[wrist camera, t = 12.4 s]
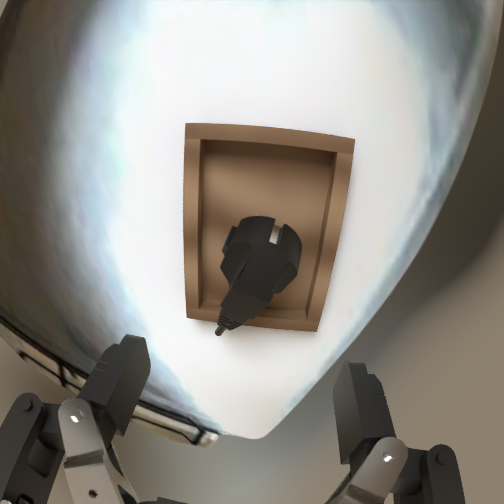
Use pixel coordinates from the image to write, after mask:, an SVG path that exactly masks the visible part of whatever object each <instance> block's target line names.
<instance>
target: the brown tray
mask: <svg viewBox="0 0 504 504" xmlns="http://www.w3.org/2000/svg"><path fill="white" fill-rule="evenodd" d="M354 145H355V139H351V138H345V137H340V136H334V135H328V134H321V133H314V132H307V131H300V130H291V129H283V128H273V127H262V126H249V125H233V124H209V123H186V125H185V147H184V182H183V238H184V274H185V296H186V313H187V318H191V319H198V320H205V321H212V322H218V318H219V314H220V310H221V306H220V304H221V302H222V300H223V299H224V297H225V295H226V294H227V292H228V290H229V283H228V281H227V279H226V277H225V276H224V274H223V272H222V271H221V269H220V265H221V263H222V260H223V258H224V254H223V252H222V248H223V246H224V244H225V241H226V239H227V237H228V234H229V232H230V230H231V228H232V226H235V227H238V225H239V222H240V220H241V219H243V218H246V217H250V216H253V214H255V213H259V214H261V216H267V217H271V218H275V219H276V220H275V224H274V225H277V226H279V227H281V228H282V227H283V225H284V224H287V225H288V226H290V227H291V228H292V229H293V230H294V231H295V232H296V233H297V234H298V236H299V238H300V240H301V243H302V253H301V258H300V264H299V269H298V274H297V276H296V277H295V278H294V280H293V281H292V282H290V283H289V284H288V285H287V286H286V288H285V289H284V290H283V291H282V292H281V293H278V294H273V298H272V300H271V301H270V302H269V304H268V305H267V306H266V307H265V308H264V309H263V310H262V311H261V312H260V313H259V314H258V315H257V317H256V318H255V319H249V320H248V321H247V322H246V323H245V324H243V325H245V326H254V327H264V328H275V329H286V330H299V331H313V332H317V329H318V325H319V321H320V318H321V314H322V310H323V306H324V302H325V298H326V294H327V290H328V286H329V282H330V277H331V273H332V269H333V264H334V260H335V255H336V250H337V246H338V241H339V236H340V231H341V226H342V220H343V215H344V209H345V204H346V198H347V192H348V186H349V180H350V173H351V167H352V160H353V152H354Z"/></svg>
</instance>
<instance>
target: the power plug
mask: <svg viewBox="0 0 504 504" xmlns="http://www.w3.org/2000/svg"><path fill="white" fill-rule="evenodd" d="M275 220H276V219H275V218H271V217H267V216H261V214H259V213H255V214H253V216H250V217H246V218H243V219H241V220H240V222H239V225H238V227H235V226H232V228H231V230H230V232H229V234H228V237H227V239H226V241H225V244H224V246H223V248H222V252H223V254H224V258H223V260H222V263H221V265H220V269H221V271H222V272H223V274H224V276H225V277H226V279H227V281H228V283H229V290H228V292H227V294H226V295H225V297H224V299H223V300H222V302H221V304H220V306H221V310H220V314H219V318H218V322H217V324H218V326H219V327H218V328H217V329H216V331H215V334H216V335H217V336H221V335H222V333H223V332H224V331H225V330H226V329H228V330H233V329H235V328H237V327H239V326H241V325H243V324H245V323H246V322H247V321H248V320H249V319H255V318H256V317H257V315H258V314H259V313H260V312H261V311H262V310H263V309H264V308H265V307H266V306H267V305H268V304H269V302H270V301H271V300H272V298H273V294H278V293H281V292H282V291H283V290H284V289H285V288H286V286H287V285H288V284H289V283H290V282H292V281H293V280H294V278H295V277H296V276H297V274H298V269H299V264H300V258H301V253H302V243H301V240H300V238H299V236H298V234H297V233H296V232H295V231H294V230H293V229H292V228H291V227H290V226H288V225H287V224H284V225H283V227H282V228H281V227H279V226H277V225H274V224H275Z"/></svg>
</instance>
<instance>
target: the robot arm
mask: <svg viewBox="0 0 504 504" xmlns="http://www.w3.org/2000/svg"><path fill="white" fill-rule="evenodd" d="M150 368H151V363H150V358H149V354H148V349H147V345H146V340H145V338H143V337H139V336H134V335H130V334H126V335H125V336H124V338H123V339H122V341H121V343H120V344H119V345H118V344H113V345H111V346H110V347H109V348H108V349H106V350H105V351H104V353H103V354H102V356H101V358H100V359H99V362H97V364H96V366H95V369H93V371H92V372H91V374H90V376H89V377H88V379H87V381H86V382H85V384H84V386H83V388H82V389H81V391H80V393H79V394H78V396H77V397H76V398H71V399H68V400H66V401H65V402H63V403H62V404H51V403H42V402H41V400H40V399H39V398H38V396H36V395H35V394H33V393H24V394H22V395H20V396H19V397H18V398H17V399H16V400H15V402H14V404H13V405H12V407H11V409H10V410H9V412H8V414H7V416H6V418H5V420H4V421H3V423H2V425H1V427H0V504H47V501H48V498H49V495H50V492H51V489H52V486H53V483H54V480H55V477H56V475H57V472H58V469H59V466H60V464H61V461H62V459H63V456H64V454H65V452H66V456H67V461H66V462H64V470H65V474H66V478H67V481H68V484H69V488H70V491H71V494H72V497H73V500H74V503H75V504H187V503H182V502H177V501H173V500H169V499H165V498H161V497H158V498H157V501H146V502H139V500H138V498H137V495H136V494H135V492H134V490H133V488H132V486H131V485H130V483H129V482H128V480H127V478H126V476H125V473H124V471H123V469H122V466H121V463H120V461H119V458H118V456H117V453H116V450H115V448H114V445H113V442H112V439H113V437H114V434H117V435H120V436H124V434H125V431H126V429H127V426H128V424H129V421H130V419H131V417H132V414H133V412H134V409H135V407H136V405H137V402H138V400H139V397H140V395H141V393H142V390H143V388H144V386H145V383H146V381H147V379H148V376H149V374H150ZM333 401H334V409H335V417H336V424H337V433H338V441H339V450H340V460H341V464H350V471H349V473H348V474H347V475H346V477H345V478H344V479H343V481H342V482H341V484H340V485H339V486H338V487H337V489H336V490H335V491H334V493H333V494H332V495H331V496H330V498H329V499H328V500H327V501H326V503H325V504H384V501H385V499H386V497H387V496H388V494H389V493H393V497H394V504H465V498H464V492H463V487H462V482H461V477H460V473H459V469H458V464H457V460H456V456H455V453H454V451H453V450H452V449H451V448H450V447H449V446H446V445H442V444H440V445H436V446H434V447H432V448H431V449H430V450H429V451H426V450H418V449H412V448H408V447H406V445H405V444H404V443H403V442H402V441H401V440H400V439H398V438H397V437H396V435H395V431H394V427H393V423H392V420H391V416H390V412H389V408H388V405H387V401H386V397H385V396H384V391H383V387H382V384H381V382H380V381H379V380H378V378H377V377H376V376H375V375H374V374H368V373H367V369H366V366H365V363H364V362H356V361H351V362H350V361H346V362H345V363H344V364H343V367H342V369H341V371H340V374H339V376H338V378H337V380H336V382H335V385H334V389H333Z"/></svg>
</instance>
